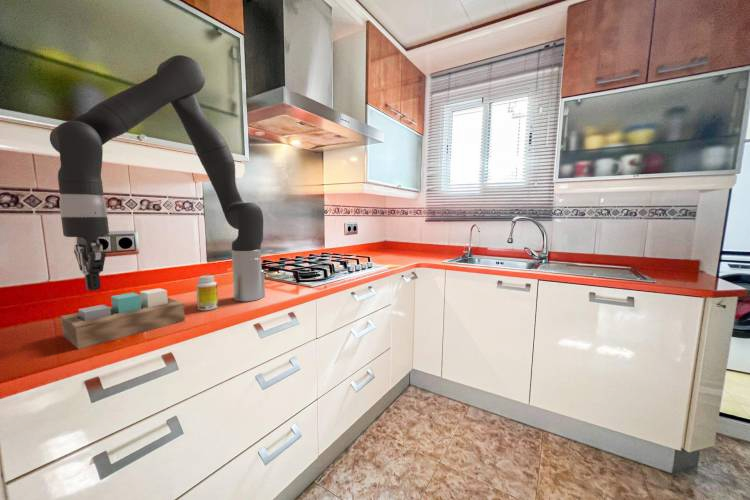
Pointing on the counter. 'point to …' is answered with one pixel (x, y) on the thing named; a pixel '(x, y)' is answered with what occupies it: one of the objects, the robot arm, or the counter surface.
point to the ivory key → (153, 297)
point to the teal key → (125, 302)
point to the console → (120, 324)
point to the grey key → (94, 312)
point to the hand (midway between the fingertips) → (93, 289)
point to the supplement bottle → (207, 293)
